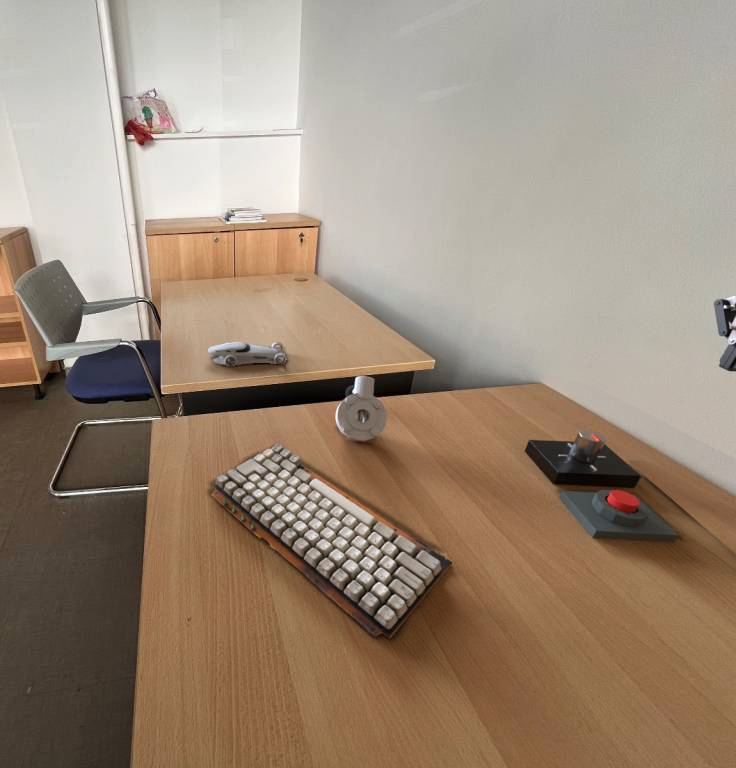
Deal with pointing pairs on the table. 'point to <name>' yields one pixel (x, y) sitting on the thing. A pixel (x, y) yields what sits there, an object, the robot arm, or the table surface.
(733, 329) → the robot arm
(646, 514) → the button box
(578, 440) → the knob
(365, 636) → the table surface
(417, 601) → the mechanical keyboard
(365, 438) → the mechanical valve
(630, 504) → the button
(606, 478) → the panel
